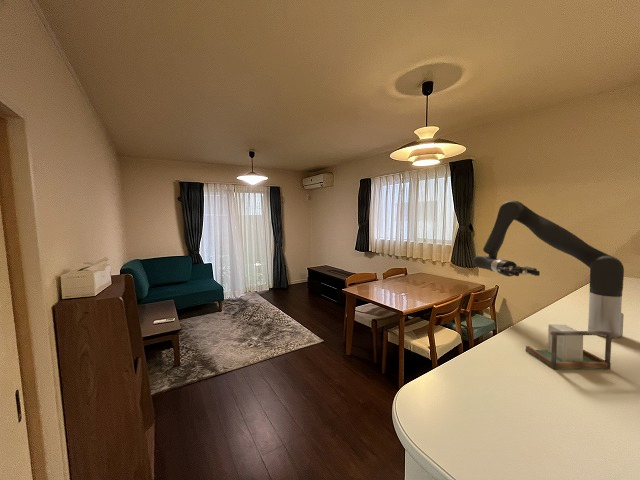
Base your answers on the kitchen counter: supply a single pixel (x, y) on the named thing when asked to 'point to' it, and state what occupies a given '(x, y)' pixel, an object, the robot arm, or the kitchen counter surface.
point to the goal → (588, 358)
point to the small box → (566, 344)
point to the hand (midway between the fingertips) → (528, 273)
